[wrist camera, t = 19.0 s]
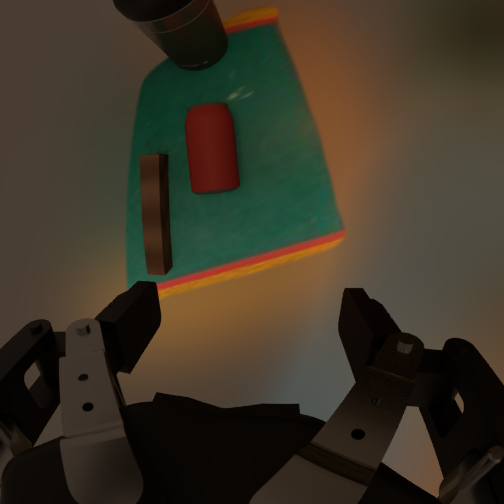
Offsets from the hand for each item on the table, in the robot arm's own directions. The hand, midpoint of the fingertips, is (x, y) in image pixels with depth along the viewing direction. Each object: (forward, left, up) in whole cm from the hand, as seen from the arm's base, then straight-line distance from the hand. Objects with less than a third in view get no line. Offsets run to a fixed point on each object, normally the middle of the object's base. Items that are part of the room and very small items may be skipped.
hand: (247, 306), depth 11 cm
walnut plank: (+1, -16, -30) cm, 34 cm away
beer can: (-2, -6, -27) cm, 28 cm away
